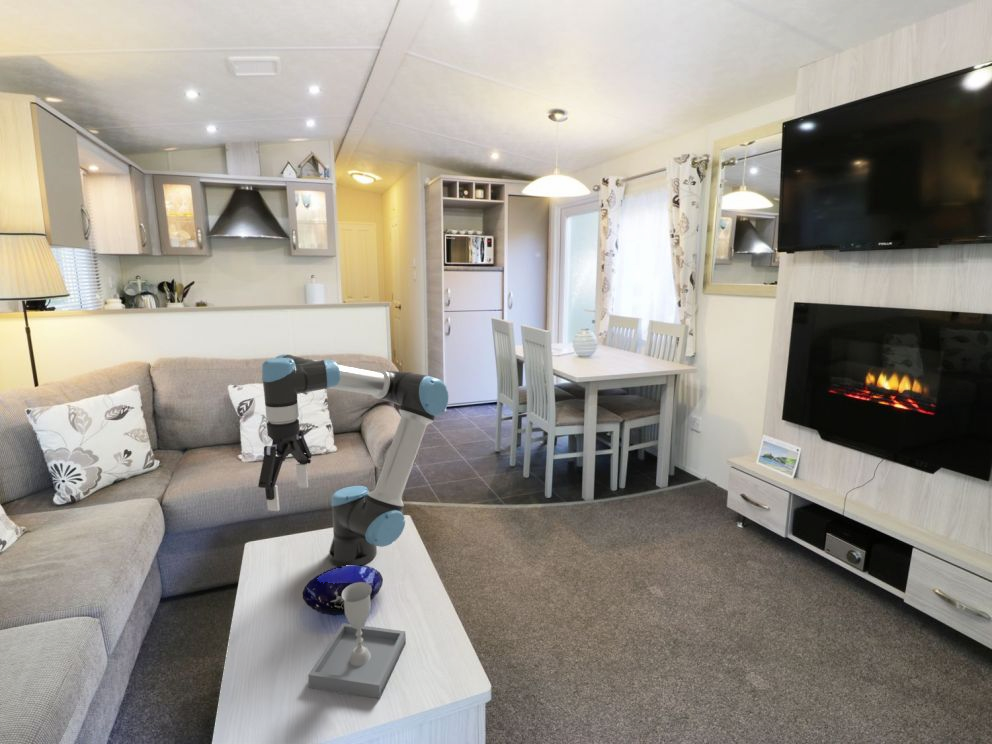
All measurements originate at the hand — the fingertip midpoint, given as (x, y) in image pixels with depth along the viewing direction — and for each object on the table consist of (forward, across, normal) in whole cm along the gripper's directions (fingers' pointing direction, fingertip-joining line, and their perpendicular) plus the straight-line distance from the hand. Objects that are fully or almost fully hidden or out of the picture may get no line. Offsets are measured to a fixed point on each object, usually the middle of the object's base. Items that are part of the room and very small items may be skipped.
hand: (289, 498), depth 131 cm
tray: (+35, +14, +24) cm, 44 cm away
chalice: (+33, +13, +24) cm, 43 cm away
